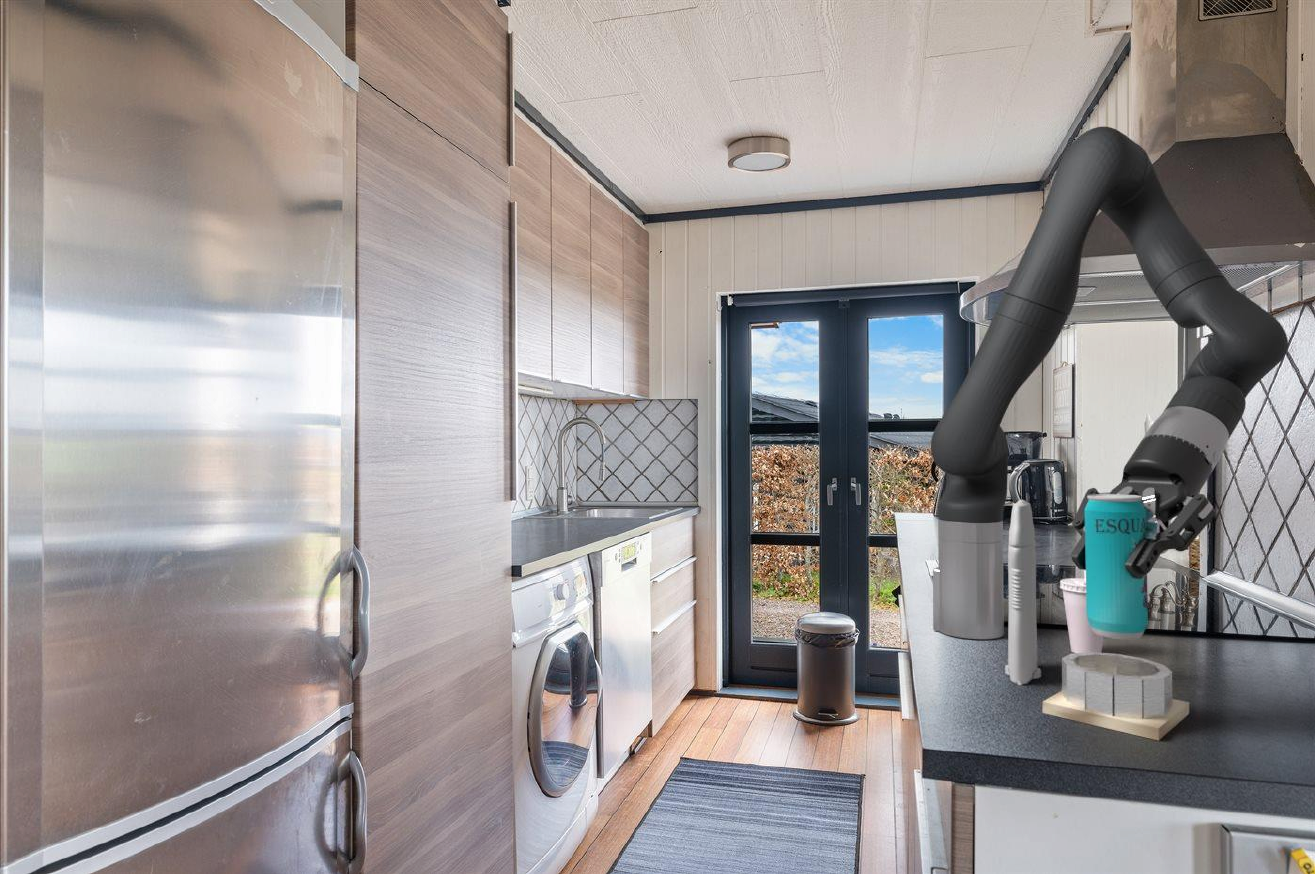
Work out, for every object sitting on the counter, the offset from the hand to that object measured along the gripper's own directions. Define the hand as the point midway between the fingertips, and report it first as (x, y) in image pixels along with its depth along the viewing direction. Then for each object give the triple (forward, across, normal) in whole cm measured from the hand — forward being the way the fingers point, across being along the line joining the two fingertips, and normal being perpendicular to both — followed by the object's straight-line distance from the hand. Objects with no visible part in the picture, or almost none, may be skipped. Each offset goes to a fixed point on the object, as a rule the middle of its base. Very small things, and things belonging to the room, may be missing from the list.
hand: (1104, 568), depth 85 cm
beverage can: (+4, 0, +6) cm, 8 cm away
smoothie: (-3, -19, +26) cm, 32 cm away
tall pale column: (+9, -15, +14) cm, 22 cm away
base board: (+10, 0, +12) cm, 16 cm away
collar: (+9, 0, +11) cm, 15 cm away
